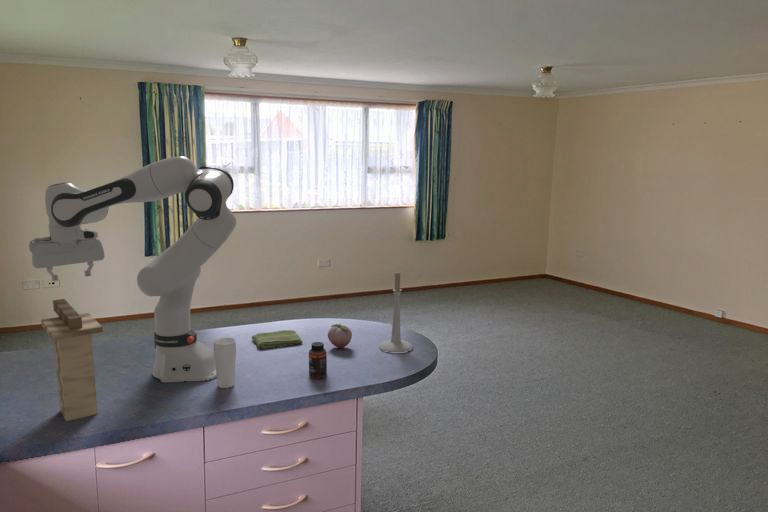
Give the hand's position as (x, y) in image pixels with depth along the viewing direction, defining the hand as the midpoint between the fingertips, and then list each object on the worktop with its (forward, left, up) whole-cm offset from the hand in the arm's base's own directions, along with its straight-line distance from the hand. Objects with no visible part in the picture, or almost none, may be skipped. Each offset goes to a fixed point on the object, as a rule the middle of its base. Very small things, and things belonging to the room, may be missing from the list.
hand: (71, 278), depth 186 cm
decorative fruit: (-83, -32, -33) cm, 94 cm away
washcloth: (-58, -37, -33) cm, 76 cm away
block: (-10, +22, -6) cm, 25 cm away
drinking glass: (-50, +5, -33) cm, 60 cm away
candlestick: (-104, -34, -33) cm, 114 cm away
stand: (-14, +26, -33) cm, 44 cm away
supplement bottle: (-78, -5, -33) cm, 84 cm away
